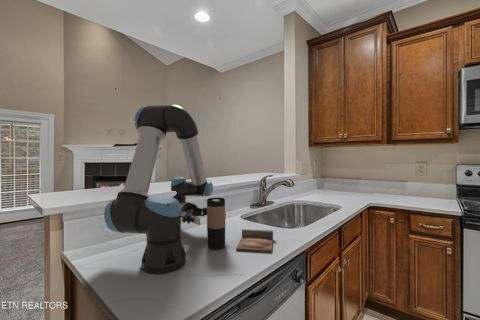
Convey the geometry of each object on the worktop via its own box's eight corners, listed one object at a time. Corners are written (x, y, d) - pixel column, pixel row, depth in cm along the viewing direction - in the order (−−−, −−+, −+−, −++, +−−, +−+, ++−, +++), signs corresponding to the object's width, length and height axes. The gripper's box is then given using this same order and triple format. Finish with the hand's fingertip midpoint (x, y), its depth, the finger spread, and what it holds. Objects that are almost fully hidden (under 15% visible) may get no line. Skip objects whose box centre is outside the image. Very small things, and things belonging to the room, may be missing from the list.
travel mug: (214, 241, 105) (214, 196, 104) (229, 245, 101) (228, 198, 101) (203, 247, 98) (202, 199, 98) (218, 251, 94) (217, 201, 94)
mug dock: (271, 253, 93) (271, 242, 93) (236, 250, 95) (236, 240, 95) (272, 239, 107) (272, 230, 107) (242, 237, 110) (242, 229, 110)
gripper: (208, 213, 127) (234, 221, 111) (164, 222, 110) (187, 233, 94) (208, 199, 127) (234, 205, 111) (163, 206, 110) (187, 215, 94)
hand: (213, 218), depth 103 cm, fingers open, 13 cm apart
